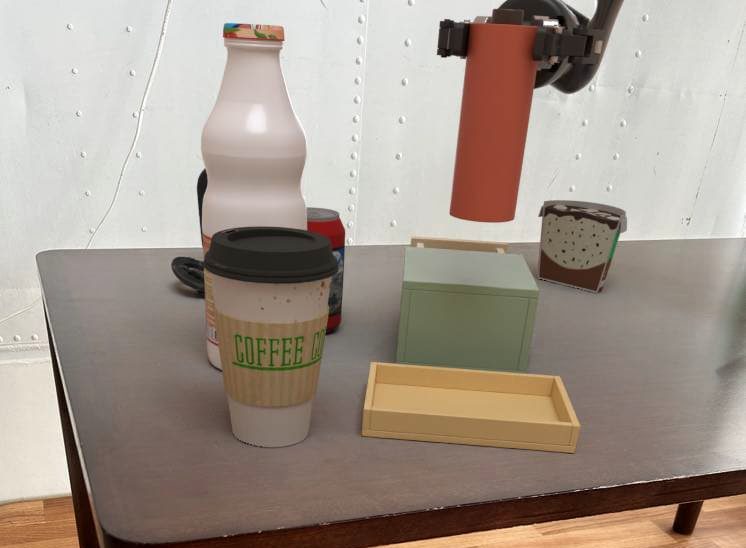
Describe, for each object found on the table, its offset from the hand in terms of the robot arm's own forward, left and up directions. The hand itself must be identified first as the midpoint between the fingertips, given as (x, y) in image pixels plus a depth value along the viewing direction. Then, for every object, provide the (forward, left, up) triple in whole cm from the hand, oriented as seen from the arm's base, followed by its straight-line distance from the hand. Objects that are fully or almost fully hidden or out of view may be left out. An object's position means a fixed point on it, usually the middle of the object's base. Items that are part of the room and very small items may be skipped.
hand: (498, 41), depth 62 cm
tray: (-1, +7, -28) cm, 29 cm away
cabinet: (-1, -11, -28) cm, 30 cm away
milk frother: (+26, -30, -28) cm, 49 cm away
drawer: (-1, -25, -27) cm, 36 cm away
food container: (-19, -44, -28) cm, 56 cm away
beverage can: (+15, -15, -28) cm, 35 cm away
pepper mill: (-1, -2, -13) cm, 13 cm away
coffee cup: (+15, +13, -28) cm, 34 cm away
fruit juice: (+19, -3, -28) cm, 34 cm away
